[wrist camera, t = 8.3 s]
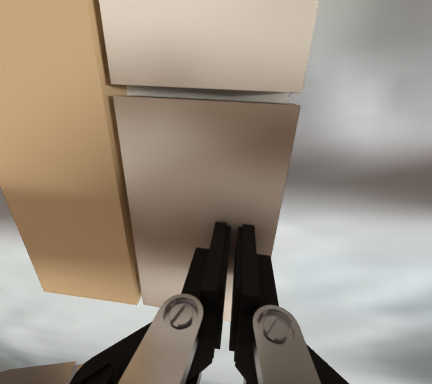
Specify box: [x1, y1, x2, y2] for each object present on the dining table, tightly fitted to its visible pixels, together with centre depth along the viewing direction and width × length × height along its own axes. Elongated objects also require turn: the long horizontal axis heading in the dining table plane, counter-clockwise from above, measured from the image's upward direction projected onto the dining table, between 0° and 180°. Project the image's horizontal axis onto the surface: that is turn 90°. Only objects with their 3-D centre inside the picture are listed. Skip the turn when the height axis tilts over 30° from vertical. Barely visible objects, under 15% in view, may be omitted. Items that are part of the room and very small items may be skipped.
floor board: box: [0, 0, 289, 305], centre depth 10 cm, size 25×14×4 cm, turn 178°
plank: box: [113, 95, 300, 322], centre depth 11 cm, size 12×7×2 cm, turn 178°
